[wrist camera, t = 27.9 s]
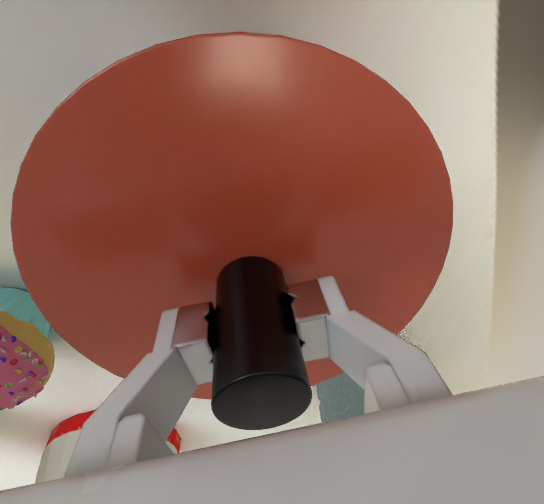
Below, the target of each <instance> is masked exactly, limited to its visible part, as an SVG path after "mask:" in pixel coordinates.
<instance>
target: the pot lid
mask: <svg viewBox="0 0 544 504" xmlns="http://www.w3.org/2000/svg"><path fill="white" fill-rule="evenodd" d="M452 227H453V199H452V192H451V185H450V178H449V175H448V172H447V168H446V165H445V162H444V159H443V156H442V153H441V151H440V149H439V147H438V145H437V143H436V141H435V139H434V137H433V135H432V133H431V131H430V129H429V127H428V126H427V125H426V123H425V122H424V121H423V119H422V118H421V117H420V115H419V114H418V113H417V112H416V110H415V109H414V108H413V106H412V105H411V104H410V102H409V101H407V100H406V99H405V98H404V97H403V96H402V95H401V94H400V93H399V92H398V91H397V90H396V89H394V88H393V87H392V86H391V85H390V84H389V83H388V82H387V81H386V80H384V79H383V78H381V77H380V76H378V75H377V74H375V73H374V72H372V71H371V70H369V69H368V68H366V67H365V66H363V65H361V64H360V63H358V62H357V61H355V60H353V59H351V58H348V57H346V56H344V55H341V54H339V53H337V52H335V51H332V50H330V49H328V48H325V47H323V46H321V45H317V44H313V43H309V42H305V41H301V40H297V39H293V38H290V37H286V36H281V35H270V34H259V33H248V32H230V33H215V34H201V35H194V36H190V37H186V38H182V39H177V40H173V41H169V42H165V43H160V44H156V45H154V46H151V47H149V48H147V49H144V50H142V51H139V52H137V53H135V54H132V55H130V56H127V57H125V58H123V59H120V60H118V61H116V62H115V63H113V64H112V65H110V66H108V67H107V68H105V69H104V70H102V71H100V72H99V73H97V74H96V75H94V76H93V77H91V78H89V79H88V80H86V81H85V82H83V83H82V84H81V85H80V86H79V87H78V88H77V89H76V90H75V91H74V92H73V93H71V94H70V95H69V96H68V97H67V98H66V99H65V100H64V101H63V102H62V103H61V104H59V105H58V106H57V107H56V109H55V110H54V111H53V113H52V114H51V115H50V117H49V118H48V119H47V121H46V122H45V123H44V124H43V126H42V127H41V128H40V130H39V131H38V132H37V134H36V135H35V137H34V139H33V141H32V143H31V145H30V147H29V149H28V151H27V153H26V155H25V157H24V159H23V162H22V164H21V166H20V170H19V174H18V177H17V181H16V185H15V188H14V192H13V199H12V212H11V232H12V241H13V250H14V254H15V258H16V261H17V265H18V268H19V271H20V275H21V277H22V279H23V282H24V284H25V286H26V288H27V290H28V292H29V294H30V296H31V298H32V300H33V301H34V303H35V304H36V306H37V307H38V309H39V310H40V312H41V313H42V315H43V316H44V318H45V319H46V320H47V321H48V322H49V324H50V325H51V326H52V327H53V328H54V329H55V330H56V331H57V333H58V334H59V335H60V336H61V337H62V338H63V339H64V340H66V341H67V342H68V343H69V344H70V345H71V346H72V347H74V348H75V349H76V350H77V351H78V352H80V353H81V354H82V355H84V356H85V357H87V358H88V359H90V360H91V361H92V362H94V363H95V364H97V365H99V366H100V367H102V368H104V369H106V370H108V371H109V372H111V373H113V374H115V375H117V376H119V377H122V378H124V379H125V378H126V377H127V375H128V374H129V373H130V372H131V371H132V370H133V369H134V368H135V367H136V366H137V364H138V363H139V362H140V361H141V360H142V359H143V358H144V357H145V356H146V355H147V354H148V353H152V351H153V347H154V343H155V339H156V335H157V331H158V327H159V323H160V319H161V315H162V313H163V312H164V310H169V309H174V308H180V307H183V306H188V305H194V304H199V303H205V302H210V301H211V302H212V303H213V305H214V307H215V330H214V353H213V376H212V382H208V383H204V384H200V385H196V386H197V388H196V390H195V391H194V393H193V395H192V398H201V399H212V400H211V407H212V411H213V413H214V415H215V417H216V418H217V419H218V420H219V421H220V422H222V423H224V424H225V425H228V426H230V427H233V428H238V429H244V430H262V429H269V428H273V427H277V426H281V425H283V424H286V423H288V422H290V421H292V420H294V419H296V418H297V417H299V416H300V415H301V414H302V413H304V411H305V410H306V409H307V408H308V406H309V405H310V403H311V399H312V391H311V387H310V386H313V385H315V384H318V383H320V382H323V381H325V380H328V379H331V378H333V377H335V376H337V375H339V374H341V373H343V372H344V371H343V370H342V369H341V368H340V367H339V366H338V365H337V364H335V363H334V362H333V361H332V360H331V359H330V357H328V358H323V359H317V360H312V361H306V362H304V358H303V354H302V349H301V345H300V341H299V338H298V336H297V332H296V328H295V323H294V319H293V314H292V310H291V307H290V303H289V298H288V294H287V288H286V285H291V284H295V283H300V282H305V281H309V280H314V279H317V278H321V277H326V276H330V275H332V276H333V277H334V278H335V280H336V283H337V285H338V287H339V289H340V291H341V293H342V296H343V298H344V300H345V302H346V304H347V306H348V309H349V311H352V310H355V311H357V312H358V313H360V314H362V315H364V316H365V317H367V318H369V319H370V320H372V321H374V322H375V323H377V324H379V325H380V326H382V327H384V328H385V329H387V330H389V331H391V332H392V333H394V334H396V335H397V334H398V333H399V332H400V331H401V330H402V329H403V328H404V327H405V326H406V325H407V324H408V323H409V322H410V321H411V320H412V318H413V317H414V316H415V315H416V313H417V312H418V311H419V309H420V308H421V307H422V306H423V304H424V302H425V301H426V299H427V298H428V296H429V294H430V293H431V291H432V290H433V288H434V286H435V284H436V281H437V279H438V277H439V275H440V273H441V271H442V268H443V265H444V262H445V259H446V256H447V253H448V249H449V244H450V238H451V233H452Z"/></svg>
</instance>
